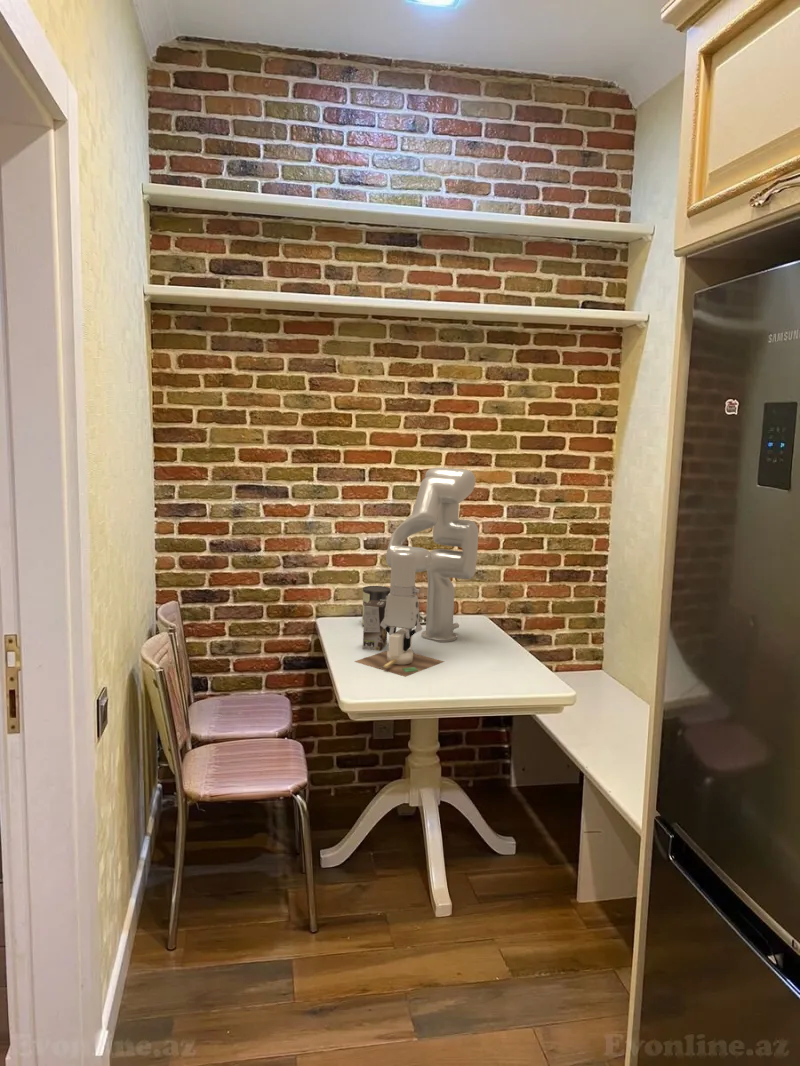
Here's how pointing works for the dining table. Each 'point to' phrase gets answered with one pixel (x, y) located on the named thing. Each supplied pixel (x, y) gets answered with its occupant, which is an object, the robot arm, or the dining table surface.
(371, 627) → the coffee box
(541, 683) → the dining table surface
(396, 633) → the dial knob
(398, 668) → the dial board
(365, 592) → the coffee can
